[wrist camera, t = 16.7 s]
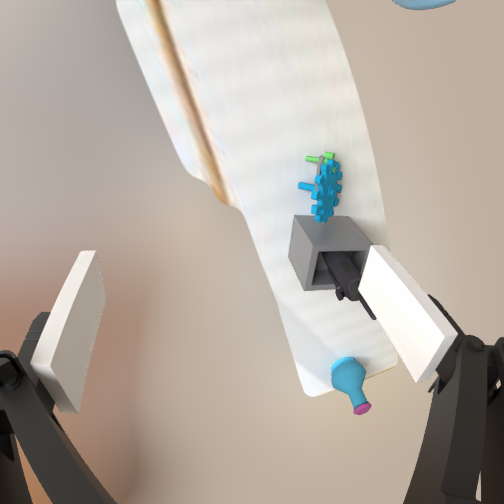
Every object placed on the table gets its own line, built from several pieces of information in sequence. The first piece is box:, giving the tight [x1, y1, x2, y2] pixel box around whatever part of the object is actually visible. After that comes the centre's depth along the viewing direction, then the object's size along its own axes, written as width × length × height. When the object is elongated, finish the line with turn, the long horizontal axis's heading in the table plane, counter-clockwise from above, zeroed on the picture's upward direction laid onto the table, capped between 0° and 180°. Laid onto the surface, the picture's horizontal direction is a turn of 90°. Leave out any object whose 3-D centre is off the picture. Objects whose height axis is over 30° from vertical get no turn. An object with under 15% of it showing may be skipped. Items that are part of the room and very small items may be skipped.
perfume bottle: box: [331, 357, 371, 415], centre depth 71 cm, size 9×9×15 cm
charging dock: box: [288, 215, 373, 291], centre depth 52 cm, size 8×10×10 cm
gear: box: [298, 152, 342, 223], centre depth 48 cm, size 11×6×10 cm
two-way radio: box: [322, 251, 377, 320], centre depth 44 cm, size 6×4×15 cm
